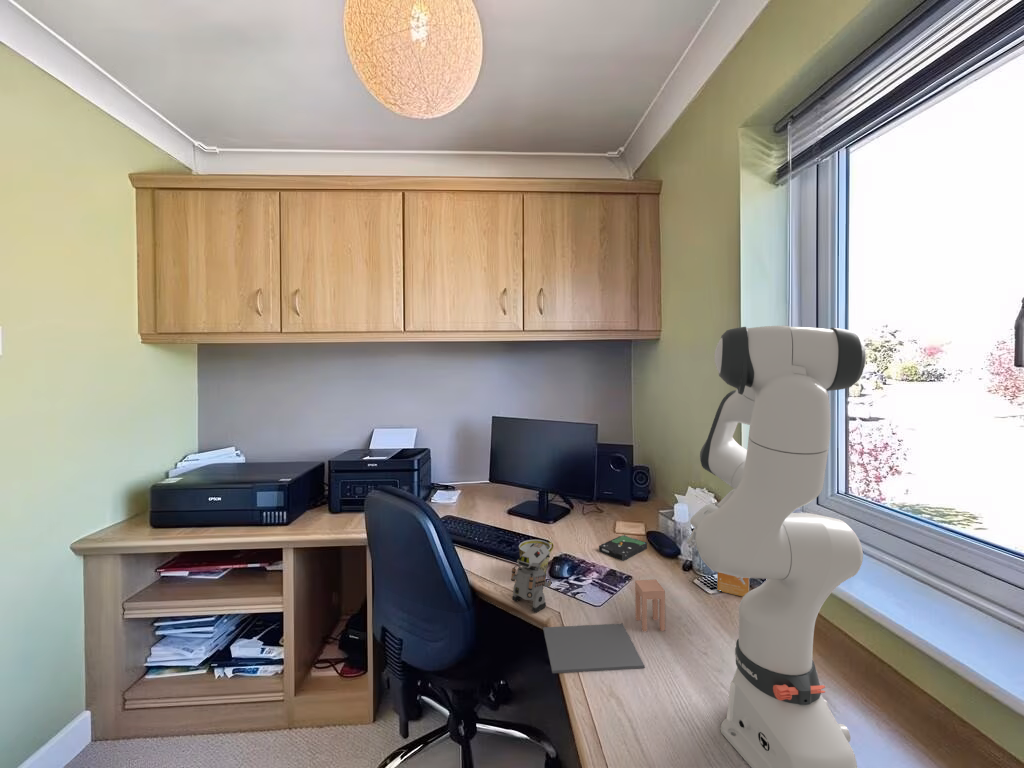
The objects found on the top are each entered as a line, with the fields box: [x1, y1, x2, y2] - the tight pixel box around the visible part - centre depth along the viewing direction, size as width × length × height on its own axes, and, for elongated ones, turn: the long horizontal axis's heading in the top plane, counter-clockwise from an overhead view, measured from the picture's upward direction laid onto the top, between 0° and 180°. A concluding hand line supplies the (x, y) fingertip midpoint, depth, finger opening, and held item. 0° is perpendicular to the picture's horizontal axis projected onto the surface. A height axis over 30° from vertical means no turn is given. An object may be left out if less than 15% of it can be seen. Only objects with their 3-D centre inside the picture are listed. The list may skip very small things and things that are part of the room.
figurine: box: [510, 543, 552, 614], centre depth 118 cm, size 9×12×15 cm
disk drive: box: [598, 534, 648, 562], centre depth 150 cm, size 10×3×15 cm
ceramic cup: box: [518, 539, 554, 574], centre depth 132 cm, size 13×10×10 cm
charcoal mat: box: [542, 623, 645, 674], centre depth 98 cm, size 15×20×1 cm
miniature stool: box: [634, 579, 666, 633], centre depth 106 cm, size 6×6×10 cm
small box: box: [716, 572, 750, 598], centre depth 122 cm, size 8×6×13 cm
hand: (698, 553), depth 106 cm, fingers open, 8 cm apart
